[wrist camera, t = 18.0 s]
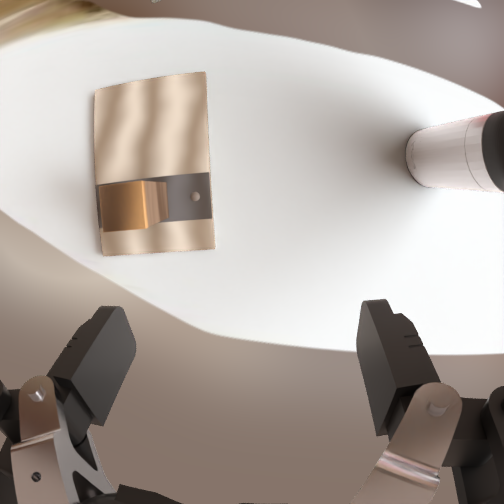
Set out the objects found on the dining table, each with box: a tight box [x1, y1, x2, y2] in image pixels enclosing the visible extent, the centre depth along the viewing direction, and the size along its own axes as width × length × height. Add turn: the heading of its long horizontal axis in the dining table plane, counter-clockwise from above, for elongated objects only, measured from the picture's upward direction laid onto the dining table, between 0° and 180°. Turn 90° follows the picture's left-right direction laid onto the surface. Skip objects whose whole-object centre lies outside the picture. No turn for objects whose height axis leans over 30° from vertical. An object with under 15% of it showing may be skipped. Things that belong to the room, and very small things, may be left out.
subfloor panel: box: [94, 72, 215, 256], centre depth 39 cm, size 16×24×2 cm, turn 3°
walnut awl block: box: [99, 181, 169, 233], centre depth 34 cm, size 5×5×11 cm
